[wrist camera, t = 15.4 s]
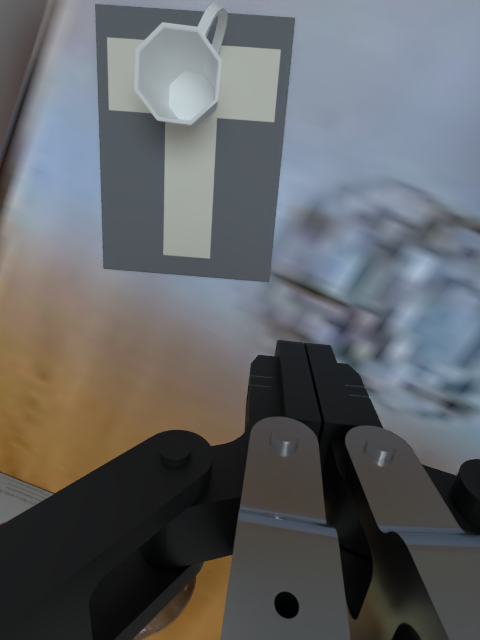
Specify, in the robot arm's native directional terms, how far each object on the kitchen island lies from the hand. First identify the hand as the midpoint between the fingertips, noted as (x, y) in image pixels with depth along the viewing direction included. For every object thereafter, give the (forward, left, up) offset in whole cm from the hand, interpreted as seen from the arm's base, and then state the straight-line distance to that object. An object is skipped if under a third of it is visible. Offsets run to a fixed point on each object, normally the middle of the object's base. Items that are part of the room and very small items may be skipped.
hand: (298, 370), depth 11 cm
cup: (+16, -4, -31) cm, 35 cm away
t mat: (+12, 0, -31) cm, 33 cm away
